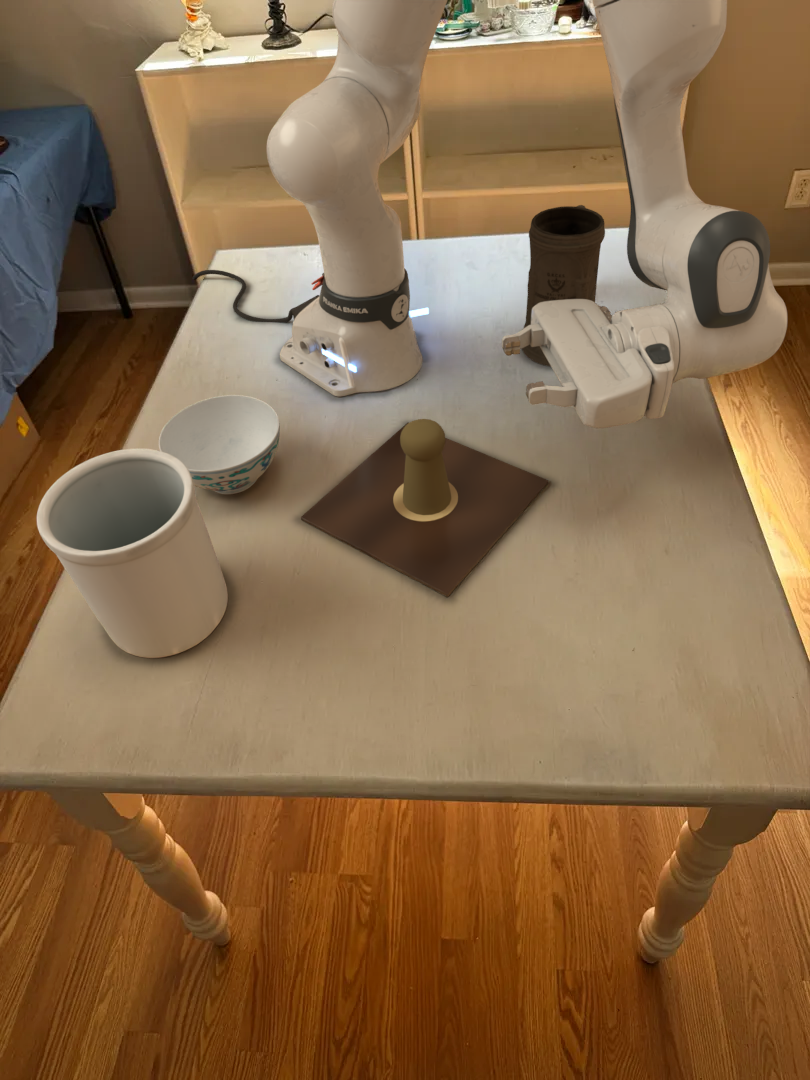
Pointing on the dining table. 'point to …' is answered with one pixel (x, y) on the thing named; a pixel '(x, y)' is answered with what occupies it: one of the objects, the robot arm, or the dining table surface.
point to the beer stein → (562, 260)
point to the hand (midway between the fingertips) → (515, 369)
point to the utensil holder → (137, 549)
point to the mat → (426, 540)
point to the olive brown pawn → (424, 468)
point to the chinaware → (223, 441)
